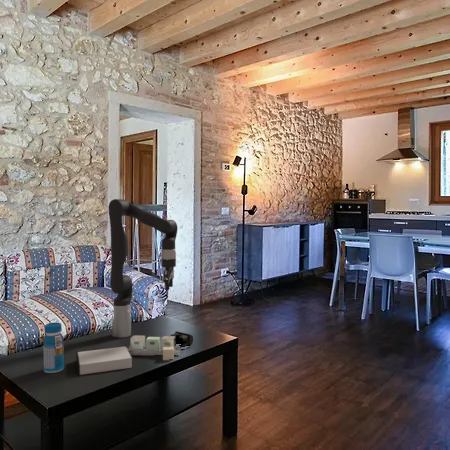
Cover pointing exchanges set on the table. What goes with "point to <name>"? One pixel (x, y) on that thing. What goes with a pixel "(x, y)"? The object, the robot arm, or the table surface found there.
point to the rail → (140, 349)
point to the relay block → (168, 353)
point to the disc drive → (103, 360)
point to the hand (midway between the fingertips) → (168, 288)
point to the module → (153, 343)
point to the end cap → (183, 339)
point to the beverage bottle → (53, 348)
